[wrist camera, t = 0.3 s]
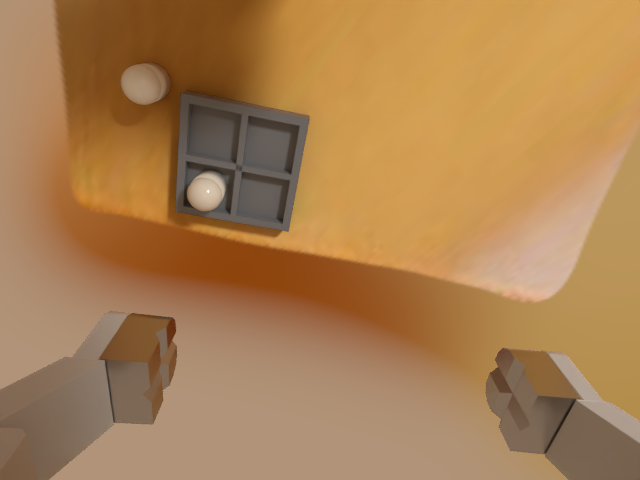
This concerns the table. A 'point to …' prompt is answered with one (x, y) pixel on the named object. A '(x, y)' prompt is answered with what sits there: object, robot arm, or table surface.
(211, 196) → the resting egg
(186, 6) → the table surface
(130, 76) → the egg
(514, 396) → the robot arm
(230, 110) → the carton
